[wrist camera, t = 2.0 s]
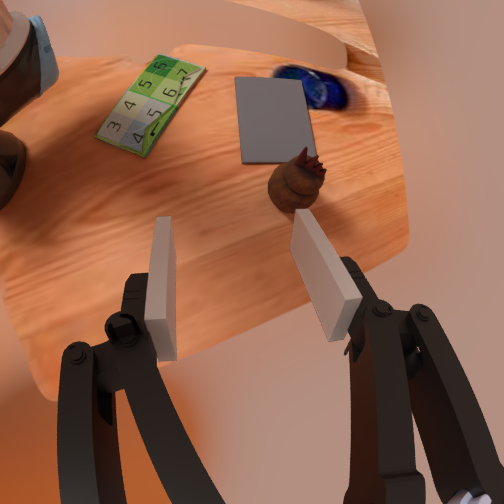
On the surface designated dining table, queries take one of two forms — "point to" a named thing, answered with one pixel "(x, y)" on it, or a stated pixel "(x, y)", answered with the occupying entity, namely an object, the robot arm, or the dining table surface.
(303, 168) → the wooden figurine
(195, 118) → the dining table surface
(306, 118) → the charcoal rubber mat
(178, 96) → the green number grid board
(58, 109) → the dining table surface
